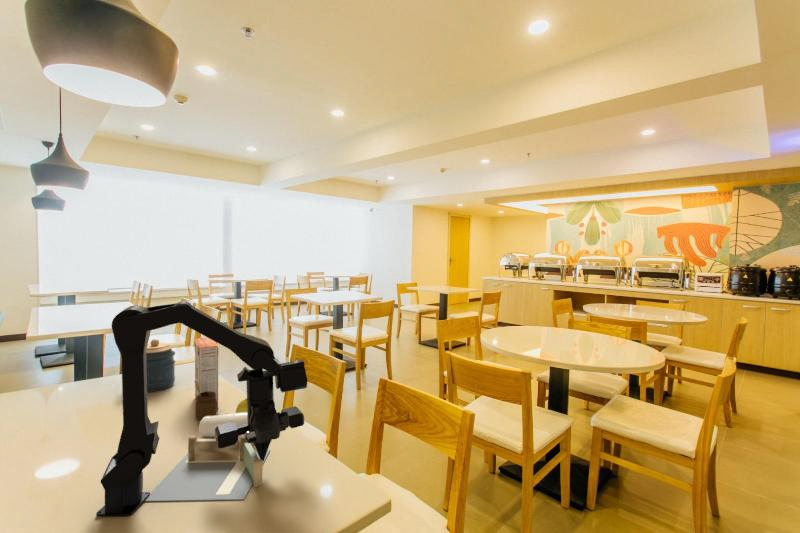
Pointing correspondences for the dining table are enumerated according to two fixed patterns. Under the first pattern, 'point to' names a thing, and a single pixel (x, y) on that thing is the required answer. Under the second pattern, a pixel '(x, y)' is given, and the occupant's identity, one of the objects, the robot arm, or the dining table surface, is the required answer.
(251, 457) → the fence panel
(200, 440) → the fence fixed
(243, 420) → the white tumbler
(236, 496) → the card
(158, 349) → the canister
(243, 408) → the lemon
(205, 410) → the utensil holder
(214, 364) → the cracker box
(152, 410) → the dining table surface
